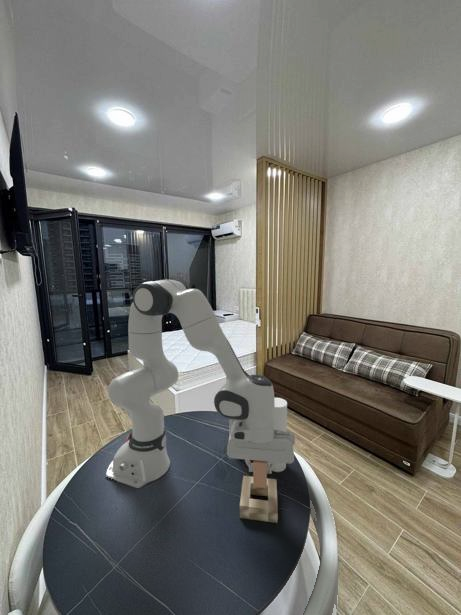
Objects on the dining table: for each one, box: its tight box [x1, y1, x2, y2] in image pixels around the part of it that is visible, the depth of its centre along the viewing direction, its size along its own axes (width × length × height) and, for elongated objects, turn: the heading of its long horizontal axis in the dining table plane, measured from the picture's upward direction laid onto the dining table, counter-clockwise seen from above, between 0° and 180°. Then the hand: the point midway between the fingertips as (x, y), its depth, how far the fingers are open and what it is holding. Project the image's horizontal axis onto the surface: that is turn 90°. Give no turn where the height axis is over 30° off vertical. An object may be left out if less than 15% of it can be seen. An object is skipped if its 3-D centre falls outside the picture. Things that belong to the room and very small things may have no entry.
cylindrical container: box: [267, 397, 288, 473], centre depth 90 cm, size 7×7×25 cm
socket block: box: [239, 475, 279, 524], centre depth 76 cm, size 11×11×4 cm
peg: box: [252, 460, 268, 488], centre depth 74 cm, size 4×4×8 cm
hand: (260, 471), depth 74 cm, fingers closed on peg, 4 cm apart
